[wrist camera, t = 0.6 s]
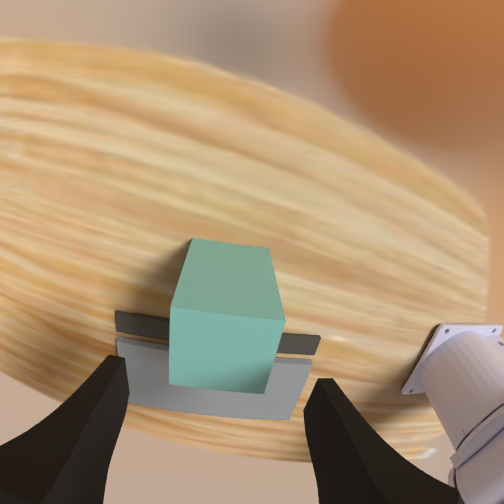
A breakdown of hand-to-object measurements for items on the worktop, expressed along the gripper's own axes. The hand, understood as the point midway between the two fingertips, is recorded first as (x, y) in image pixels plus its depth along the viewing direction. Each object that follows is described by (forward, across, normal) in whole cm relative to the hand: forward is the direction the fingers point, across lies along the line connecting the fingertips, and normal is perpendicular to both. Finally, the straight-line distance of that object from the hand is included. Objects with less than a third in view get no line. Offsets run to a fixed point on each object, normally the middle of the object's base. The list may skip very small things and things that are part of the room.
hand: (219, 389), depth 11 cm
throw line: (+9, 0, +4) cm, 10 cm away
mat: (+9, 0, +10) cm, 13 cm away
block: (+9, 0, 0) cm, 9 cm away
